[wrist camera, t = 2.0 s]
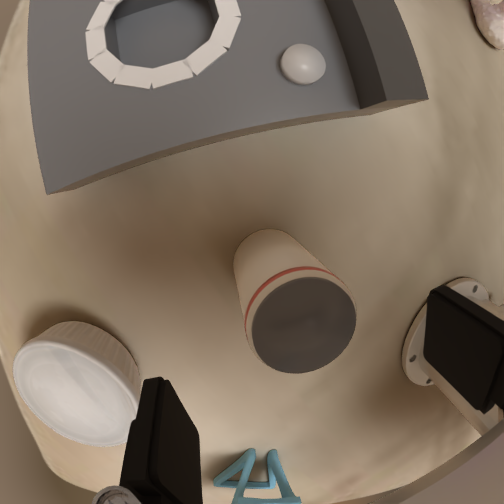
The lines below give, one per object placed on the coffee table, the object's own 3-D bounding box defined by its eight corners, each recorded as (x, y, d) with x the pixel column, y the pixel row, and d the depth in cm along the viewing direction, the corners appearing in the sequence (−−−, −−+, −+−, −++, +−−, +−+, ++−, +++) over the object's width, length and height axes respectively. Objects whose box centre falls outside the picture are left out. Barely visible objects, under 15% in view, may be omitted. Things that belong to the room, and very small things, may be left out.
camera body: (311, -46, 14) (338, -92, 8) (370, 114, 19) (428, 99, 12) (51, 14, 13) (11, -20, 7) (74, 189, 18) (18, 200, 11)
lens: (295, 220, 21) (354, 260, 12) (308, 285, 22) (363, 356, 13) (224, 239, 20) (233, 294, 11) (242, 304, 22) (262, 389, 13)
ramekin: (171, 352, 22) (163, 395, 17) (127, 424, 24) (118, 463, 19) (53, 283, 20) (19, 311, 15) (31, 370, 21) (9, 402, 16)
